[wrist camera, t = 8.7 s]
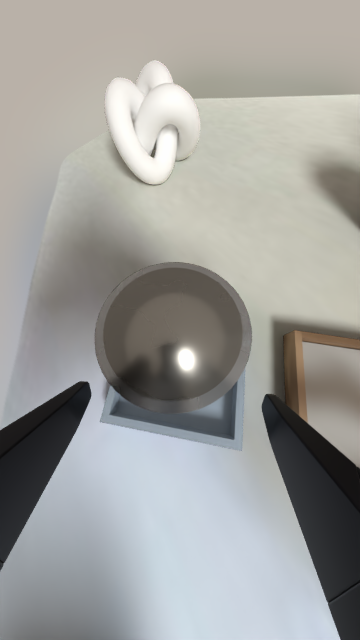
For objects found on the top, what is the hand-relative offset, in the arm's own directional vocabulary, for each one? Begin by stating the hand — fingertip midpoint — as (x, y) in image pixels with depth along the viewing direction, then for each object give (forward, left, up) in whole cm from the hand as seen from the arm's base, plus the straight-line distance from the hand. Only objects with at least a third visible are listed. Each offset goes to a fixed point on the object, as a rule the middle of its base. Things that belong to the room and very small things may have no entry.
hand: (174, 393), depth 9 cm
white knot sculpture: (+31, +9, -8) cm, 34 cm away
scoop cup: (+2, 0, -7) cm, 8 cm away
